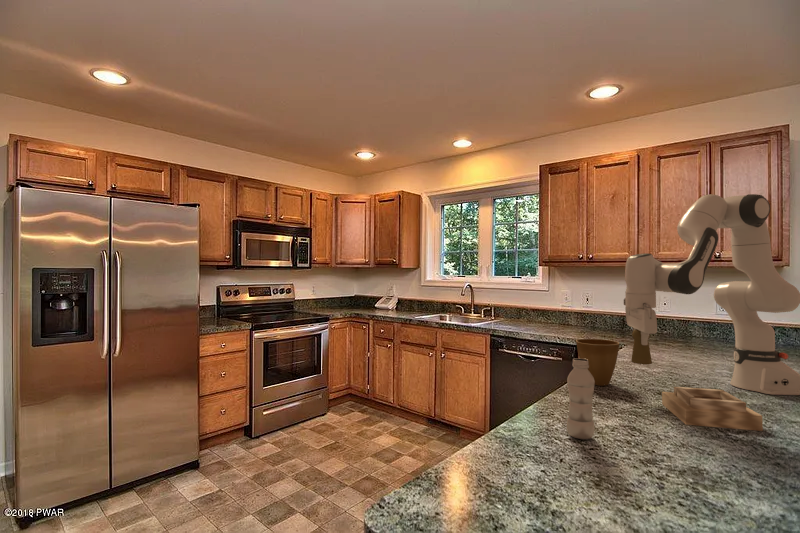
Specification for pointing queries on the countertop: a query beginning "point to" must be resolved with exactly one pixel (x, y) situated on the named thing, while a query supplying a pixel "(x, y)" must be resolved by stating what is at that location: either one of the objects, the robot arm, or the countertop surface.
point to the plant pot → (599, 358)
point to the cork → (640, 350)
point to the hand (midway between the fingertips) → (641, 343)
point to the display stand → (711, 409)
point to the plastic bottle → (580, 400)
